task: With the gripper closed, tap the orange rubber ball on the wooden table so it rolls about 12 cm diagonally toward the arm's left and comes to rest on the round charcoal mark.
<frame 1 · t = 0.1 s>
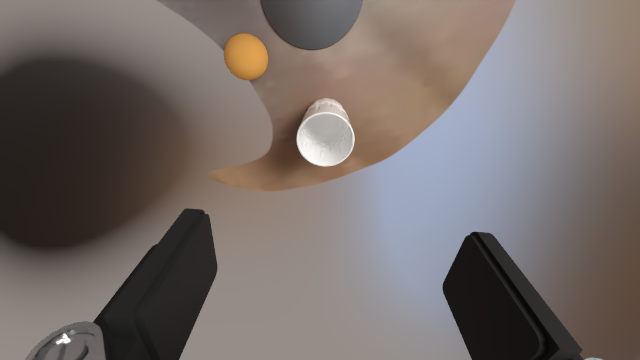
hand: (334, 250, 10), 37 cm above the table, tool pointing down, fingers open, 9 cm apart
white cup: (325, 117, 45), on the table
ball: (246, 57, 38), on the table
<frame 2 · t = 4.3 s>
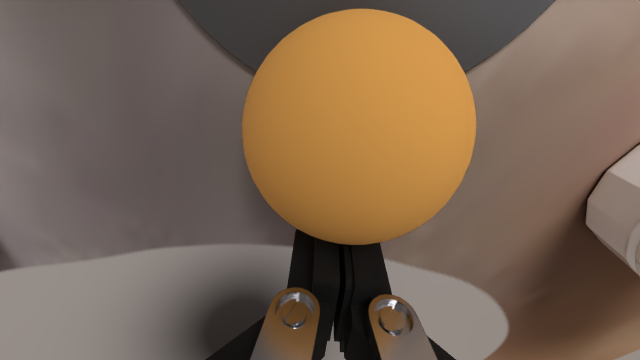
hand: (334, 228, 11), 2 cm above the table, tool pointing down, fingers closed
ball: (352, 135, 8), on the table, touching gripper
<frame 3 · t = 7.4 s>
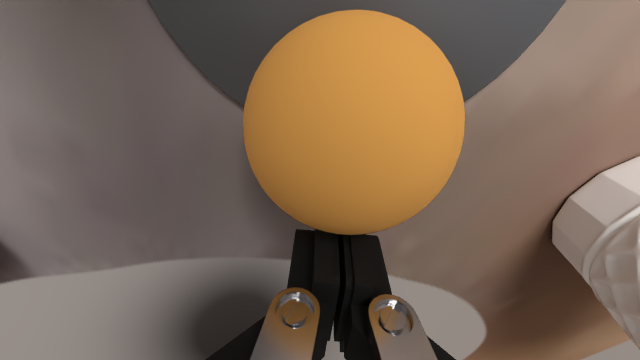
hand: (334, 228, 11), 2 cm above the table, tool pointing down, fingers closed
white cup: (621, 208, 13), on the table
ball: (349, 130, 8), on the table, touching gripper
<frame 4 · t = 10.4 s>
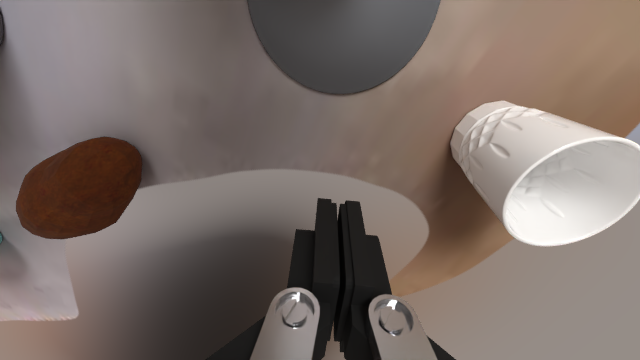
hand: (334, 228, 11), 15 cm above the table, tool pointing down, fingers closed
potato: (112, 171, 28), on the table
white cup: (486, 136, 25), on the table
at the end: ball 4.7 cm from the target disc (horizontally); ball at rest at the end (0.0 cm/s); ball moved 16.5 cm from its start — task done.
